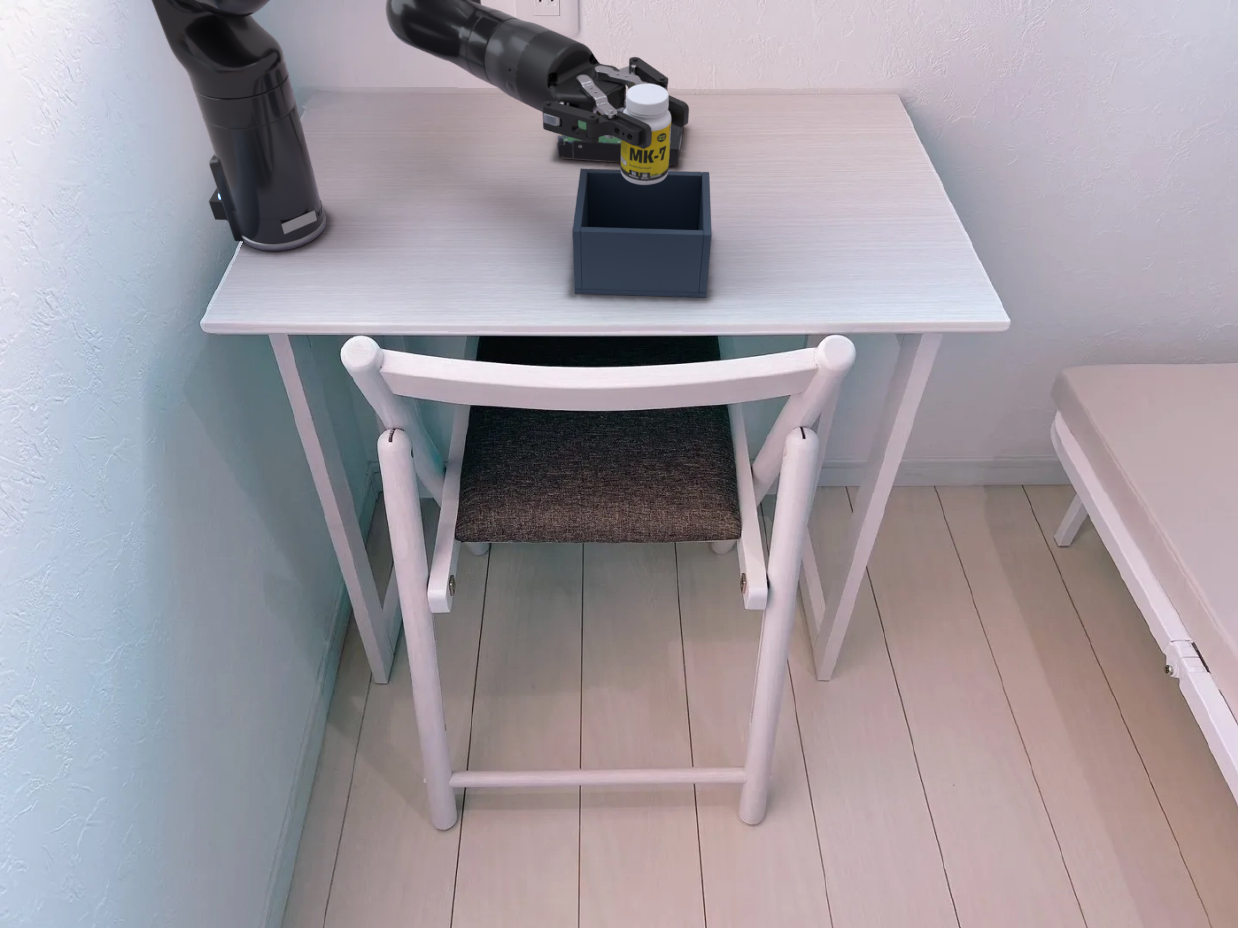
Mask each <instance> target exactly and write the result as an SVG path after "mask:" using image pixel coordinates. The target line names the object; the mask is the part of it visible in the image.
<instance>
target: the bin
mask: <svg viewBox="0 0 1238 928" xmlns="http://www.w3.org/2000/svg"><path fill="white" fill-rule="evenodd" d="M577 185H578V186H577V193H576V199H575V200H576V201H575V209H574V215H573V223H572V258H573V259H572V261H573V263H572V264H573V288H574V289H573V290H574V294H575V295H577V294H578V295H579V294H581V295H607V296H608V295H609V296H610V295H613V296H644V297H645V296H646V297H675V298H676V297H677V298H707V294H708V293H707V292H708V281H709V273H710V272H709V270H710V260H711V259H710V258H711V248H712V238H713V237H712V235H713V232H712V209H711V205H712V204H711V181H710V172H709V171H687V170H686V171H684V170H683V171H682V170H668V174H667V176H666V178H665V179H664V180H662V181H661V182H658V183H655V184H650V185H638V184H634V183H631V182H629V181H628V180H626V179H625V178H624V177H623V176H622V174H621V169H611V168H610V169H609V168H580V169H579V178H578V184H577Z"/></svg>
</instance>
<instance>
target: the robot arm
mask: <svg viewBox="0 0 1238 928" xmlns="http://www.w3.org/2000/svg"><path fill="white" fill-rule="evenodd" d="M269 2H271V0H151V3H152V5H153V8H154V11H155V13H156V16H157V19H158V21H159V24H160V26H161V29H162V31H163V35H164V37H165V39H166V42H167V44H168V46H169V49H170V51H171V53H172V55H174V57H175V59H176V60H177V61H178V63H179V64H180V65H181V66H182V68H183V69H184V70H185V72H186V73H187V76H188V79H189V81H190V84H191V87H192V90H193V93H194V97H195V99H196V102H197V105H198V108H199V112H200V114H201V117H202V121H203V123H204V127H205V129H206V132H207V136H208V139H209V142H210V145H211V148H212V151H213V154H212V156H211V158H210V160H209V161H208V163H209V164H208V165H209V169H210V171H211V172H210V173H211V174H212V178H213V181H214V183H215V186H216V188H215V190H214V191H213V193H212V195H211V197H210V198H209V200H208V204H209V206H210V210H211V212H212V215H213V217H214V220H215V221H227V223H228V225H229V228H230V231H231V234H232V237H233V240H234V241H235V242H243V243H244V244H246V245H247V246H250V247H252V248H254V249H256V250H262V251H271V252H272V251H285V250H291V249H295V248H299V247H301V246H304V245H306V244H308V243H310V242H312V241H313V240H315V239H317V237H319V236H320V235H322V233H323V232H324V230H325V228H326V225H327V217H326V213H325V210H324V208H323V202H322V199H321V197H320V192H319V188H318V185H317V180H316V177H315V172H314V168H313V165H312V160H311V157H310V152H309V149H308V144H307V141H306V136H305V131H304V129H303V124H302V120H301V117H300V112H299V108H298V104H297V100H296V97H295V91H294V88H293V85H292V80H291V76H290V72H289V68H288V64H287V60H286V57H285V53H284V50H283V48H282V45H281V43H280V42H279V41H278V40H277V39H276V37H274V35H272V34H271V33H270V32H269V31H268V30H267V29H265V28H264V27H263V26H262V25H261V24H260V23H259V22H258V21H257V20H256V19H255V18H254V16H253V15H254V14H256V13H258V12H259V11H260V10H261V9H263V8H264V7H265V6H266V5H267V4H268V3H269ZM385 17H386V21H387V24H388V26H389V28H390V30H391V32H392V33H393V34H394V35H395V37H396V38H397V39H398V40H399V41H401V42H402V43H403V44H405V45H407V46H410V47H412V48H415V49H416V50H418V51H421V52H424V53H426V54H429V55H431V56H433V57H435V58H438V59H440V60H443V61H446V62H450V63H451V64H454V65H456V66H457V67H459V68H461V69H462V70H464V71H466V72H467V73H469V74H470V75H472V76H474V77H475V78H477V79H479V80H481V81H483V82H485V83H488V84H489V85H492V86H493V87H496V88H497V89H499V90H500V91H502V92H503V93H504V94H506V95H507V96H509V97H510V98H513V99H515V100H517V101H518V102H520V103H522V104H525V105H527V106H528V107H530V108H533V109H535V110H537V111H539V112H541V113H542V115H541V116H542V129H543V130H545V131H548V132H551V133H554V134H557V135H559V134H561V135H564V136H568V137H571V138H575V139H578V140H582V141H585V142H589V143H597V142H598V141H599V137H601V136H605V137H606V138H615V137H616V138H618V139H620V140H623V141H625V142H627V143H629V144H631V145H633V146H638V147H640V148H642V149H645V148H647V147H649V146H650V145H651V134H652V130H651V127H650V125H648V124H646V123H644V122H642V121H640V120H638V119H636V118H634V117H631V116H629V115H627V114H625V113H623V111H624V110H625V109H626V93H627V90H628V89H629V88H631V87H633V86H635V85H639V84H655V85H658V86H661V87H663V88H664V89H666V90H667V91H668V87H669V85H668V84H669V78H668V76H666V75H665V74H663V73H662V72H661V71H659V70H657V69H656V68H654V67H653V66H652V65H650V64H649V63H648V62H646V61H645V60H643V59H642V58H640V57H638V56H632V57H629V59H628V65H627V66H625V67H621V68H618V67H616V66H614V65H609V64H604V63H600V61H599V59H597V57H596V56H595V54H594V52H593V51H592V50H591V49H590V47H588V45H586V44H584V43H581V42H579V41H577V40H575V39H572V38H571V37H568V36H565V35H564V34H561V33H559V32H557V31H555V30H552V29H550V28H547V27H545V26H543V25H541V24H538V23H535V22H533V21H526V20H523V19H520V18H518V17H515V16H513V15H511V14H509V13H506V12H504V11H502V10H499V9H496V8H494V7H489V6H486V5H483V4H482V0H386V1H385ZM668 110H669V112H670V114H671V123H672V124H674V125H676V126H678V127H683V126H684V127H685V126H686V125H688V124H689V119H690V118H689V116H690V107H689V104H688V103H687V102H686V101H684V100H682V99H680V98H677V97H674V96H672V95H671V94H669V106H668ZM617 111H621V113H619V114H617ZM578 120H579V121H582V122H586V130H585V129H581V128H580V127H579V126H578Z"/></svg>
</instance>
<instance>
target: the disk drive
mask: <svg viewBox="0 0 1238 928" xmlns="http://www.w3.org/2000/svg"><path fill="white" fill-rule="evenodd" d="M619 113H621V111H617V114H619ZM578 126H579V127H580V128H581V129H585V130H586V122H582V121H579V120H578ZM684 129H685V126H683V127H678V126H676V125H674V124H672V123H671V135H670V152H669V166H678V165H679V160H680V154H681V148H682V144H683V137H684ZM556 151H557V157H558V158H563V159H568V160H580V161H581V160H582V161H583V160H584V161H596V162H613V163H621V140H620V139H618V138H616V137H615V138H606V137H605V136H601V137H599V141H598V142H597V143H589V142H585V141H582V140H578V139H575V138H571V137H568V136H564V135H561V134H558V135H557V143H556Z"/></svg>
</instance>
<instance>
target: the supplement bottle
mask: <svg viewBox="0 0 1238 928" xmlns="http://www.w3.org/2000/svg"><path fill="white" fill-rule="evenodd" d="M669 95H670V94H669V92H668V89H667V90H666V89H664V88H663V87H661V86H658V85H655V84H639V85H635V86H633V87H631V88H629V89H628V88H627V90H626V100H625V101H626V109H625V110H624V111H623V113H625V114H627V115H629V116H631V117H634V118H636V119H638V120H640V121H642V122H644V123H646V124H648V125H650V127H651V130H652V134H651V145H650V146H649V147H647V148H645V149H642V148H640V147H638V146H633V145H631V144H629V143H627V142H625V141H623V140H621V162H620V170H621V174H622V176H623V177H624V178H625V179H626V180H628V181H629V182H631V183H634V184H638V185H650V184H655V183H658V182H661V181H662V180H664V179H665V178H666V176H667V174H668V171H669V169H670V168H669V167H670V165H669V152H670V135H671V114H670V112H669V110H668V106H669Z"/></svg>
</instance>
